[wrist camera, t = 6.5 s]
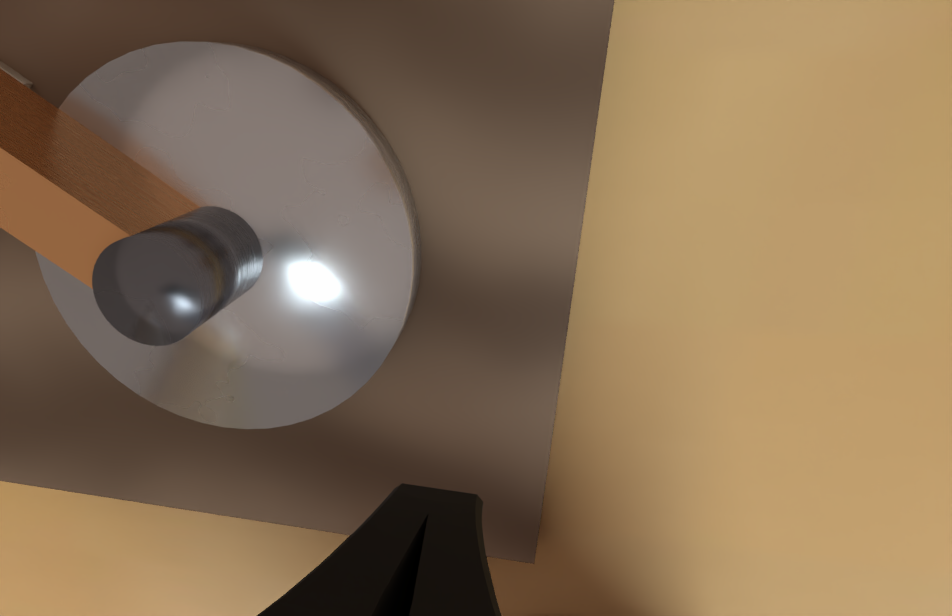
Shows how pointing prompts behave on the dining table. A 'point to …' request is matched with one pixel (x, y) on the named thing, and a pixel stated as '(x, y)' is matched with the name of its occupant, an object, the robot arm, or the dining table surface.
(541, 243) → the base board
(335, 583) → the robot arm
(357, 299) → the dial
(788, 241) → the dining table surface
